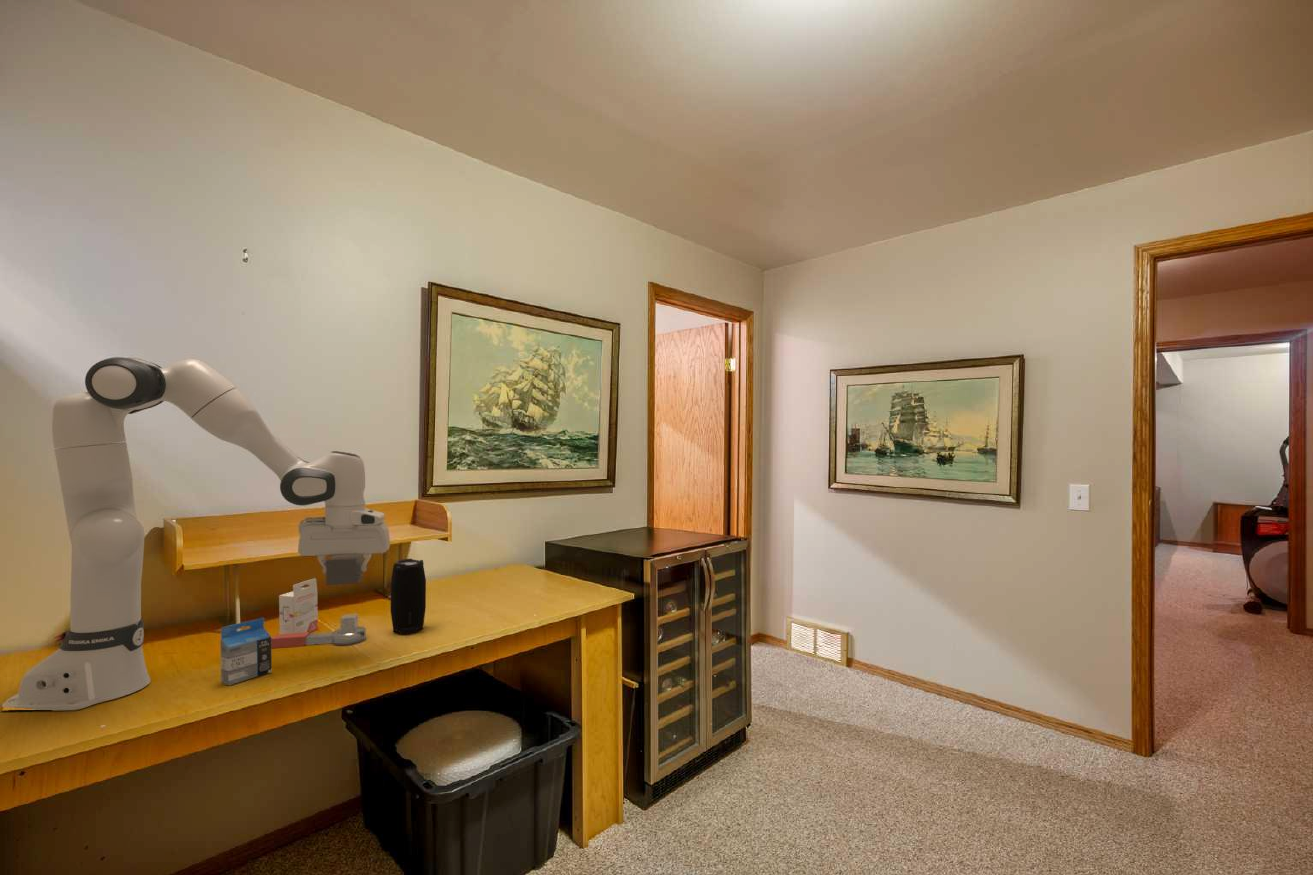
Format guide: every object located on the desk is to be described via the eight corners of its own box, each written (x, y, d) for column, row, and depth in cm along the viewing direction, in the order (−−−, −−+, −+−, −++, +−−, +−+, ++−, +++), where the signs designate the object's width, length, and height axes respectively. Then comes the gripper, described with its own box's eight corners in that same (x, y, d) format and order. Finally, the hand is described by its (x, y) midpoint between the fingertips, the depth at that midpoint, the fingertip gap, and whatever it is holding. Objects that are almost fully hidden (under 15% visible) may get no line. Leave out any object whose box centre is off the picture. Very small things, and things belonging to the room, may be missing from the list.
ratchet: (267, 651, 148) (267, 625, 148) (279, 640, 156) (279, 616, 156) (361, 644, 154) (361, 619, 154) (368, 634, 161) (369, 610, 161)
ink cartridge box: (303, 628, 166) (303, 576, 166) (318, 629, 166) (318, 577, 165) (278, 638, 158) (278, 583, 158) (293, 639, 157) (293, 584, 157)
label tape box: (228, 686, 128) (228, 630, 128) (219, 682, 130) (220, 627, 130) (272, 673, 135) (272, 619, 135) (263, 669, 137) (263, 616, 137)
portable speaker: (396, 626, 169) (396, 558, 169) (429, 625, 170) (430, 557, 170) (385, 636, 160) (386, 564, 160) (420, 635, 161) (421, 564, 161)
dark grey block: (326, 585, 142) (326, 560, 141) (334, 578, 148) (334, 555, 148) (355, 583, 143) (356, 559, 143) (362, 577, 149) (362, 554, 149)
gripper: (294, 519, 140) (293, 577, 140) (386, 517, 145) (386, 572, 145) (303, 515, 146) (302, 571, 146) (391, 513, 151) (391, 567, 151)
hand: (344, 572), depth 145 cm, fingers closed on dark grey block, 7 cm apart
